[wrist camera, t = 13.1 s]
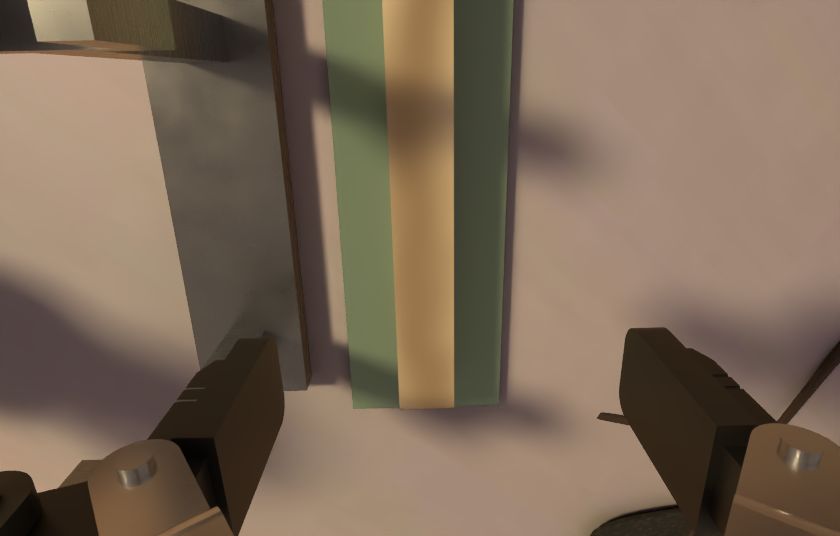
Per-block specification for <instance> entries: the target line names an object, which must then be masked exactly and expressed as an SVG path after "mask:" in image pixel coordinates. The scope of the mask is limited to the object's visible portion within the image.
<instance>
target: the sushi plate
mask: <svg viewBox="0 0 840 536" xmlns="http://www.w3.org/2000/svg"><path fill="white" fill-rule="evenodd" d="M839 363H840V342H839V343H838V344H837V345H836V347H835V348H834V349H833V350H832V352H831V353H830V354H829V356H828V357H827V358H826V359H825V361H824V362H823V363H822V365H821V366H820V367H819V368H818V370H817V371H816V372H815V373H814V375H813V376H812V377H811V379H810V380H809V381H808V382H807V384H806V385H805V386H804V388H803V389H802V390H801V391H800V393H799V394H798V395H797V397H796V398H795V399H794V400H793V402H792V403H791V404H790V406H789V407H788V408H787V409H786V411H785V412H784V413H783V414H782V416H781V417H780V418H779V420H778V421H777V422H778V423H780V424H787V423H788V422H789V421H790V420H791V419H792V417H793V416H794V415H795V414H796V413H797V412H798V410H799V409H800V408H801V407H802V406H803V405H804V403H805V402H806V401H807V400H808V399H809V398H810V396H811V395H812V394H813V393H814V392H815V391H816V389H817V388H818V387H819V386H820V385H821V384H822V383H823V381H824V380H825V379H826V378H827V377H828V376H829V374H830V373H831V372H832V371H833V370H834V369H835V367H836V366H837V365H838V364H839ZM597 419H600V420H605V421H610V422H615V423H620V424H625V425H629V423H628V421H627V420H626V418H625V416H623V415H617V414H611V413H600V414H599V416H598V417H597ZM590 536H723V535H722V533H701V534H695V533H694V531H693V529H692V528H691V526H690V524H689V523H688V521H687V519H686V518H685V516H684V514H683V513H682V511H681V509H680V508H675V509H669V510H662V511H656V512H649V513H644V514H638V515H633V516H629V517H624V518H620V519H617V520H614V521H610V522H608V523H606V524H604V525H601V526H600V527H598V528H597V529H595V530H594V531H593V532H592V534H591V535H590Z"/></svg>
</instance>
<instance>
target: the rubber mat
mask: <svg viewBox="0 0 840 536" xmlns="http://www.w3.org/2000/svg"><path fill="white" fill-rule="evenodd" d="M322 1H323V14H324V28H325V41H326V54H327V67H328V81H329V94H330V107H331V120H332V134H333V147H334V160H335V173H336V187H337V200H338V213H339V226H340V240H341V253H342V266H343V279H344V293H345V306H346V319H347V332H348V346H349V359H350V372H351V385H352V399H353V409H369V408H400V405H399V382H398V358H397V335H396V312H395V289H394V266H393V243H392V220H391V196H390V173H389V150H388V127H387V104H386V81H385V57H384V34H383V11H382V0H322ZM513 3H514V0H454V406H487V405H499V384H500V357H501V330H502V303H503V275H504V248H505V221H506V194H507V166H508V139H509V112H510V85H511V58H512V30H513Z"/></svg>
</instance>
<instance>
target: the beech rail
mask: <svg viewBox="0 0 840 536" xmlns="http://www.w3.org/2000/svg"><path fill="white" fill-rule="evenodd" d="M382 11H383V34H384V57H385V81H386V104H387V127H388V150H389V173H390V196H391V220H392V243H393V266H394V289H395V312H396V335H397V358H398V382H399V405H400V409H429V408H454V0H382Z"/></svg>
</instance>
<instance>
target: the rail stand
mask: <svg viewBox="0 0 840 536" xmlns="http://www.w3.org/2000/svg"><path fill="white" fill-rule="evenodd" d="M11 53H40V54H55V55H70V56H85V57H100V58H114V59H129V60H142V61H143V67H144V72H145V77H146V83H147V88H148V93H149V99H150V104H151V109H152V115H153V120H154V125H155V131H156V136H157V141H158V146H159V152H160V157H161V162H162V168H163V173H164V178H165V184H166V189H167V194H168V200H169V205H170V210H171V216H172V221H173V226H174V232H175V237H176V242H177V248H178V253H179V258H180V264H181V269H182V274H183V280H184V285H185V290H186V296H187V301H188V306H189V312H190V317H191V322H192V328H193V333H194V338H195V344H196V349H197V354H198V360H199V365H200V370H202V369H203V368H205V367H206V366H208V365H209V364H211V363H212V362H214V361H215V360H224V359H225V358H226V357H227V355H228V354H229V352H230V351H231V349H232V348H233V346H234V345H235V343H236V342H237V341H238V339H240V338H268V337H272V338H274V339H275V341H276V344H277V349H278V356H279V363H280V370H281V377H282V384H283V391H298V390H307V389H308V386H309V383H310V380H311V377H312V376H311V366H310V357H309V347H308V338H307V328H306V319H305V309H304V300H303V290H302V281H301V271H300V262H299V252H298V242H297V233H296V223H295V214H294V204H293V195H292V185H291V176H290V166H289V157H288V147H287V138H286V128H285V119H284V109H283V100H282V90H281V81H280V71H279V62H278V52H277V42H276V33H275V23H274V14H273V4H272V0H0V54H11ZM101 461H102V460H82V461H81V462H80V463H79V464H78V466H77V467H76V468H75V469H74V470H73V471H72V473H71V474H70V475H69V476H68V477H67V478H66V479H65V481H64V482H63V483H62V484H61V485H60V486H59V488H61V487H65V486H70V485H74V484H78V483H82V482H86V481H88V479H89V476H90V474H91V472H92V470H93V469H94V468H95V467H96V465H98V464H99V463H100V462H101Z"/></svg>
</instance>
